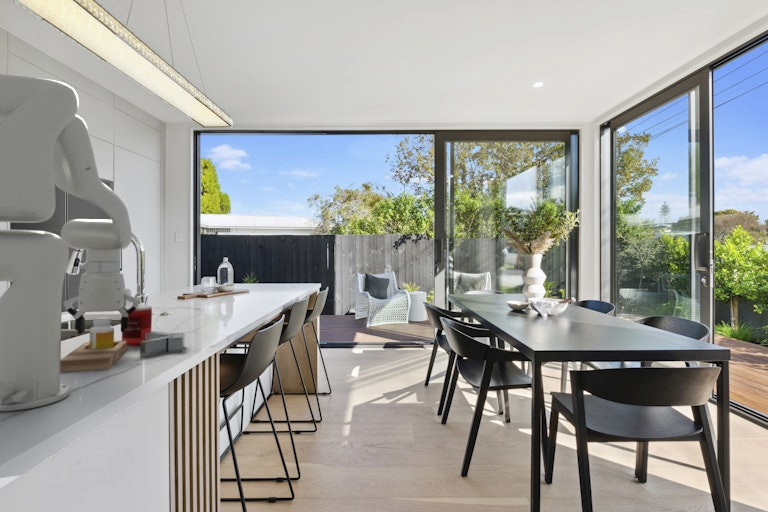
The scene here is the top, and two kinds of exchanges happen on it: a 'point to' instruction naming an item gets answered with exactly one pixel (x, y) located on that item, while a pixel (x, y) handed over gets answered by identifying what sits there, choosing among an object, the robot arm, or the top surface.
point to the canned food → (138, 325)
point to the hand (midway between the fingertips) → (102, 332)
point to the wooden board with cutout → (92, 357)
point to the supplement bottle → (101, 334)
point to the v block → (161, 343)
